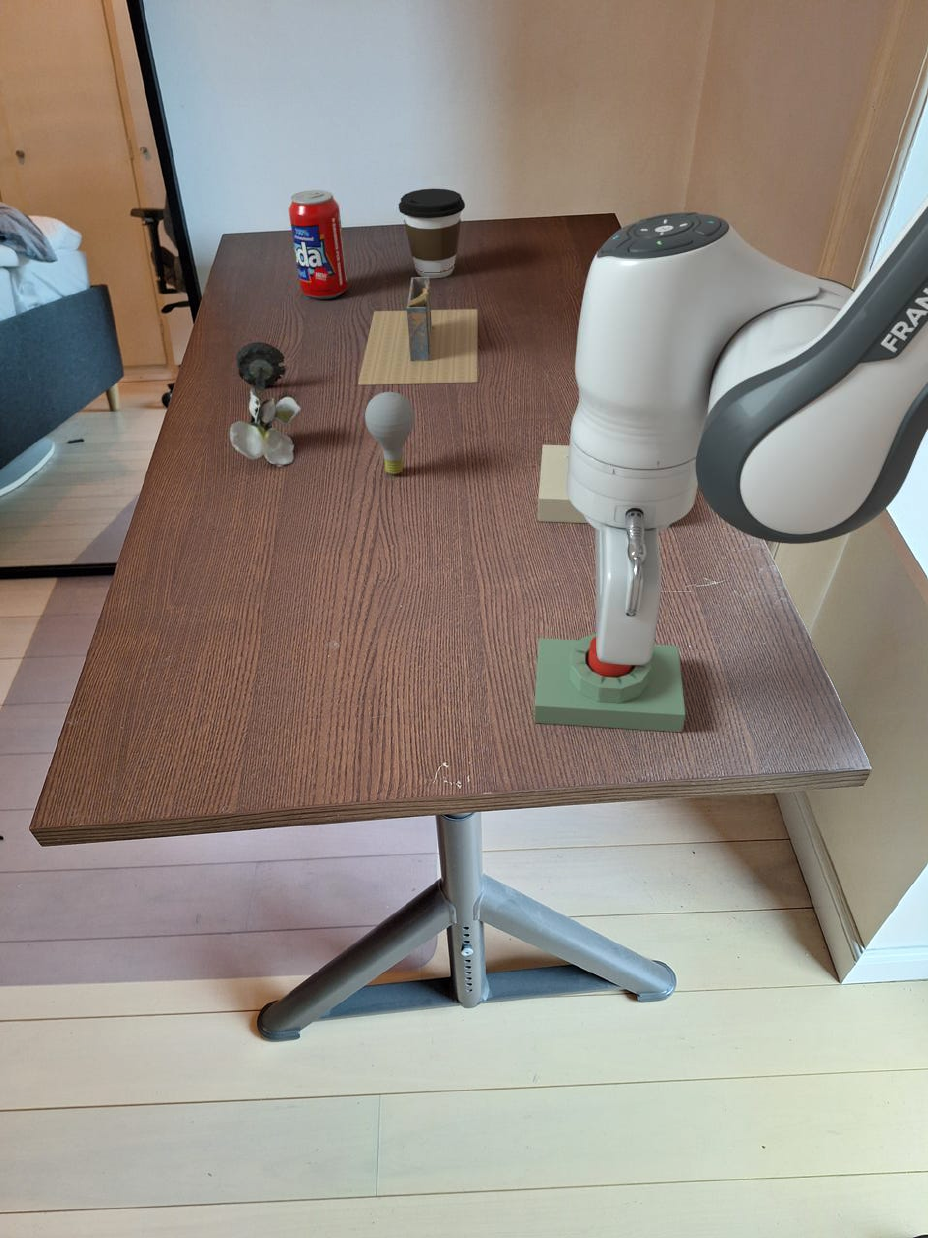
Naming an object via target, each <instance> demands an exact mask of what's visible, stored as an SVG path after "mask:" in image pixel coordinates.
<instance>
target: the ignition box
mask: <svg viewBox="0 0 928 1238" xmlns="http://www.w3.org/2000/svg"><path fill="white" fill-rule="evenodd" d="M595 636H596V632H595V633H592V634H589V635H585V636H584V637H581V638H580V639H564V638H563V639H562V638H546V637H545V638H543V637H539V638H538V648H537V665H536V677H535V678H536V680H535V696H534V709H533V710H534V711H533V713H534V715H533V723H534V724H546V725H561V726H576V727H592V728H606V729H608V728H609V729H621V730H623V729H624V730H637V731H639V730H640V731H653V732H668V733H670V732H671V733H682V732H683V729H684V724H685V719H686V706H685V697H684V688H683V680H682V679H683V678H682V670H681V661H680V651H679V646H678V645H672V644H657V643H654V648H653V654H652V657H651V659H650V660H649V662H648V663H646V664H644V665H632V668H631V670H630V671H629V672H628V673H627V674H625V675H624V676H621V677H617V678H613V677H604V676H601V675H599V674H597V673H595V672H594V671H593V670H592V669H591V667H590V666H589V662H588V659H589V649H590V642H591V640H592V639H593V638H594V637H595Z"/></svg>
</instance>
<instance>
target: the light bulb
mask: <svg viewBox="0 0 928 1238" xmlns="http://www.w3.org/2000/svg"><path fill="white" fill-rule="evenodd" d="M364 419H365V421H364V422H365V425H366V427H367V430H368V432H369V433H370V435H371V436H372V437H373V439H374V440H375V441H376V442H377V444H379V446H380V448H381V449H382V454H383V459H384V467H385V468H384V470H385V472H386V473H387V474H390V475H397V474H400V473H401V472H403V470H404V446H405V443H406V441H407V439H408V438H409V436H410V434H411V433H412V430H413V429H414V424H415V411H414V408H413V406H412V404H411V403H410V400H408V399H407V398H406V397H405V395H402V394H400V393H398V392H395V391H384V392H380V393H378V394H376V395H375V396H373V398H372V399H371V400H370V401H368V403H367V406H366V408H365V412H364Z"/></svg>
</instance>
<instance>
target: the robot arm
mask: <svg viewBox="0 0 928 1238" xmlns="http://www.w3.org/2000/svg"><path fill="white" fill-rule="evenodd" d="M587 273H588V274H587V277H586V281H585V286H584V290H583V296H582V299H581V300H582V301H581V308H580V314H579V322H578V330H577V339H576V349H575V364H574V373H575V381H576V385H577V388H578V403H577V407H576V410H575V412H574V414H573V417H572V419H571V424H570V434H569V435H570V436H569V445H570V446H569V460H568V475H567V495H568V498H569V500H570V502H571V503H572V504H573V506H574V507H575V508H576V509H577V510H578V511H579V512H581V513H582V514H584V517H585V519H586V520H587V521H588V523H587V524H589V525H591V527H593V528H594V531H595V532H594V539H595V540H594V542H595V543H594V544H595V545H594V546H595V553H594V554H595V633H596V648H597V657H598V659H599V660H600V661H601V662H604V663H611V664H620V665H644V664H646V663H648V662H649V660H650V659H651V657H652V654H653V648H654V644H655V640H656V633H657V627H658V621H659V611H660V603H661V595H662V560H661V552H660V551H661V549H660V540H659V534H661V533H662V532H664V531H665V530H667V529H668V528H669V527H668V526H669V525H670V526H671V524H673V523H676V522H678V521H679V520H682V519H683V518H684V517H685V516H687V514H689V513H690V511H691V510H692V509H693V507H694V506H695V502H696V499H697V498H696V497H697V492H698V488H699V490H700V493H701V495H702V497H703V498H704V500H705V502H706V503H707V505H708V506H709V507H710V508H711V509H712V511H713V512H714V514H715V515H717V516H718V517H719V518H720V519H721V520H723V521H724V522H726V524H728V525H730V526H731V527H733V528H734V529H736V530H738V531H740V532H742V533H744V534H746V535H748V536H751V537H754V538H756V539H760V540H762V541H766V542H772V543H778V544H788V545H805V544H814V543H819V542H824V541H825V542H826V541H828V540H833V539H836V538H839V537H842V536H845V535H847V534H850V533H852V532H854V531H856V530H858V529H860V528H862V527H863V526H865V525H867V524H869V523H870V522H871V521H873V520H874V519H875V518H877V517H878V516H880V514H881V513H882V512H884V511H885V510H886V509H887V508H888V506H890V504H891V503H892V502H893V501H894V499H895V498H896V496H897V495H898V494H899V492H900V490H901V488H902V487H903V485H904V484H905V482H906V479H907V478H908V475H909V472H910V471H911V468H912V466H913V463H914V461H915V459H916V456H917V454H918V451H919V448H920V446H921V444H922V442H923V441H924V438H925V435H926V434H927V432H928V195H927V196H926V197H925V199H924V200H923V201H922V202H921V204H920V205H919V206H918V208H917V209H916V210H915V211H914V213H913V214H912V215H911V217H909V220H908V221H907V222H906V223H905V225H904V226H903V227H902V228H901V230H900V232H899V233H898V234H897V235H896V236H895V238H894V239H893V240H892V241H891V243H890V245H889V246H888V247H887V248H886V250H885V251H884V252H883V253H882V255H881V256H880V257H879V259H878V260H877V262H876V263H875V264H874V265H873V267H872V268H871V269H870V270H869V272H868V273H867V275H866V276H865V277H864V279H863V280H862V281H861V283H860V284H859V285H858V287H857V288H856V289H855V290H854V288H852V287H850V286H849V285H846V284H844V283H842V282H841V281H840V282H839V281H837V280H834V279H830V278H826V277H820V276H819V277H818V276H812V275H810V274H807V273H804V272H801V271H799V270H796V269H793V268H791V267H789V266H787V265H784V264H783V263H781V262H778V261H777V260H775V259H773V258H772V257H769V256H768V255H766V254H764V253H763V252H761V251H760V250H758V249H757V248H756V247H754V246H753V245H752V244H750V243H749V242H747V241H746V240H745V238H743V237H742V236H741V235H740V234H739V233H738V232H737V231H736V229H734V227H733V226H732V225H731V224H730V222H728V221H727V220H725V219H724V218H722V217H719V216H716V215H712V214H706V213H698V212H695V211H683V212H670V213H669V212H668V213H663V214H657V215H653V216H650V217H645V218H642V219H639V220H638V221H636V222H634V223H630V224H628V225H624V226H623V227H622V228H620V229H619V230H617V231H616V232H615V233H613V234H612V235H611V236H610V237H609V238H608V239H607V240H606V241H605V242H604V243H603V244H602V245H601V247H600V248H599V249H598V250H597V252H596V254H595V255H594V258H593V259H592V261H591V264H590V266H589V270H588V272H587Z"/></svg>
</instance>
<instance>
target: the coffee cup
mask: <svg viewBox="0 0 928 1238" xmlns="http://www.w3.org/2000/svg"><path fill="white" fill-rule="evenodd" d="M465 208H466V203H465V201H464V199H463V197H462V195H461V193H459V192H457V191H455V190H453V189H452V190H451V189H447V188H423V189H422V188H421V189H416V190H412V191H410V192H407V193H405V194H404V195H402V196H401V198H400V202H399V203H398V210H399V213H401V214H403V217H404V220H403V222H404V226H405V231H406V235H407V241H408V245H409V249H410V254H411V257H412V259H413V264H414V268H415V271H416V273H417V275H418V276H419V277H429V279H442V278H445V277H448V276H450V275H451V274H452V273H453V271H454V269H455V266H454V264H455V263H456V256H457V253H458V248H459V239H460V232H461V231H460V230H461V222H462V219H461V214H462V213H461V212H463V211H464V210H465ZM455 265H456V264H455ZM452 266H454V267H453V269H451V270H449V271H446V272H442V273H424V272H440V271H443V270H448V269H449V268H451V267H452ZM416 268H417V269H418V270H420V271H423V272H420V271H418V270H417V269H416Z"/></svg>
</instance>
